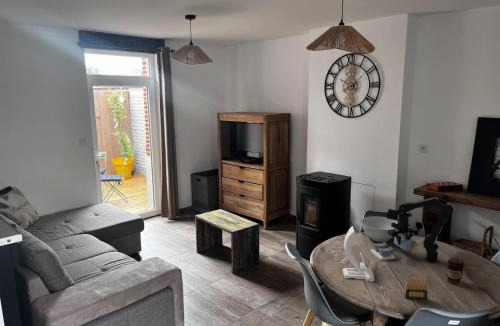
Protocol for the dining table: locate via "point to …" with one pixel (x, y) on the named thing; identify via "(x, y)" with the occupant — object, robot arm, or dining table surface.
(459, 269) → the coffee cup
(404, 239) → the blue tapered block
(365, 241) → the dining table surface
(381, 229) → the decorative bowl
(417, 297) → the ammunition clip
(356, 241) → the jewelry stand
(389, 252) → the white grey bracket mount
